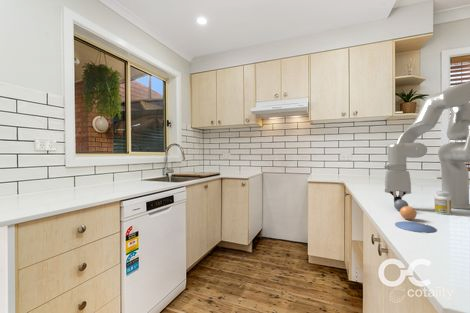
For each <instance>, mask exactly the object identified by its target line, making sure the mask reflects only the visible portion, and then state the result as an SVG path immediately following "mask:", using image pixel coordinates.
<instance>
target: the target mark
mask: <svg viewBox="0 0 470 313" xmlns="http://www.w3.org/2000/svg"><path fill="white" fill-rule="evenodd" d="M425 224H426V223H421V222H416V221H404V220H403V221H397V222H395V223H394V225H395V227H397V228H399V229H402V230H405V231H409V232H414V233H422V232H426V233H427V234H428V233H435V232H437V228H436V227H434V226H432V225H429V224H426V225H425Z"/></svg>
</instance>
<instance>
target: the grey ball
mask: <svg viewBox="0 0 470 313" xmlns="http://www.w3.org/2000/svg"><path fill="white" fill-rule="evenodd" d="M405 206H409V203H408V202H407V201H406V200H404V199H402V200H396V201H395V202H394V201H393V207H394V208H395V210H396V211H398V212H400V209H401V208H402V207H405Z"/></svg>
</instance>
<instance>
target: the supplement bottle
mask: <svg viewBox="0 0 470 313" xmlns="http://www.w3.org/2000/svg"><path fill="white" fill-rule="evenodd" d="M448 195H449V192H446V191H442V190H438V191H436V195H435V196H434V212H435V213H436V214H439V215H452V208H451V198H450V197H448Z"/></svg>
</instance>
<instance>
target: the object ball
mask: <svg viewBox="0 0 470 313" xmlns="http://www.w3.org/2000/svg"><path fill="white" fill-rule="evenodd" d="M399 213H400V214H399V215H400V217H402V218H403V219H405V220H408V221H410V220H414V219H415V218H416V217H417V215H418V214H417V210H416V209H415V208H414V207H412V206H409V205H408V206H405V207H402V208H401V209H400V211H399Z"/></svg>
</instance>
